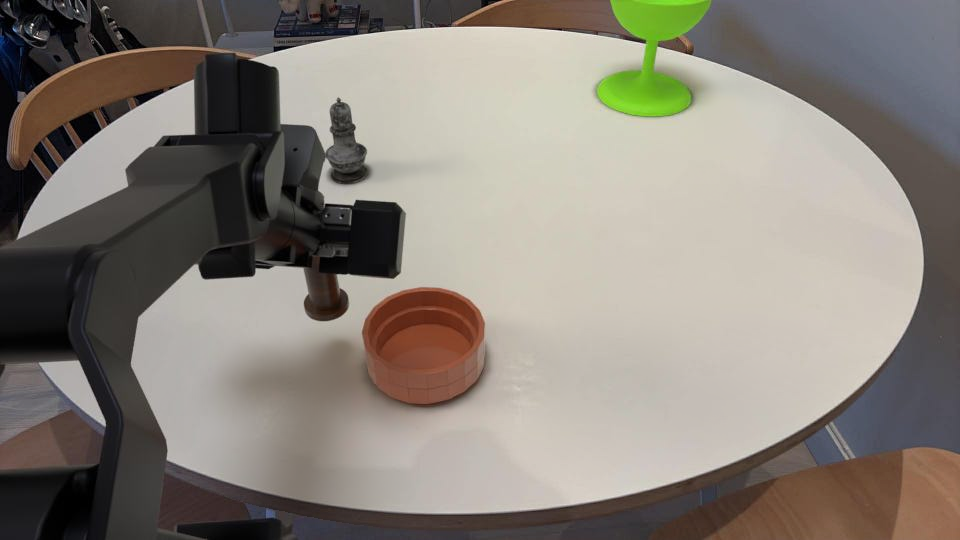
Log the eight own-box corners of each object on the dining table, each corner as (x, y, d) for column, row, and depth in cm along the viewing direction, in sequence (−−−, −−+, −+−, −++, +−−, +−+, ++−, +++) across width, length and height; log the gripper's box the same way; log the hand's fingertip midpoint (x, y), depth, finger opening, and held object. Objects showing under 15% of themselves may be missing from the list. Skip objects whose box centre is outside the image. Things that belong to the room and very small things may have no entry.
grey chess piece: (320, 177, 100) (306, 100, 92) (346, 159, 104) (335, 83, 96) (351, 189, 98) (340, 111, 90) (378, 170, 102) (369, 94, 94)
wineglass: (710, 106, 117) (736, -4, 105) (628, 124, 112) (645, 11, 100) (656, 68, 128) (674, -35, 116) (580, 83, 123) (590, -23, 112)
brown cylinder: (325, 328, 67) (303, 218, 59) (295, 308, 70) (270, 200, 61) (358, 303, 70) (341, 196, 62) (328, 285, 72) (308, 179, 64)
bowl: (431, 428, 67) (428, 394, 63) (343, 368, 72) (336, 334, 69) (507, 354, 74) (509, 320, 71) (422, 305, 80) (419, 272, 77)
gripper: (391, 119, 51) (425, 168, 66) (148, 106, 53) (236, 157, 68) (378, 270, 50) (415, 285, 66) (130, 253, 52) (224, 271, 67)
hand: (321, 246), depth 67 cm, fingers closed on brown cylinder, 3 cm apart
